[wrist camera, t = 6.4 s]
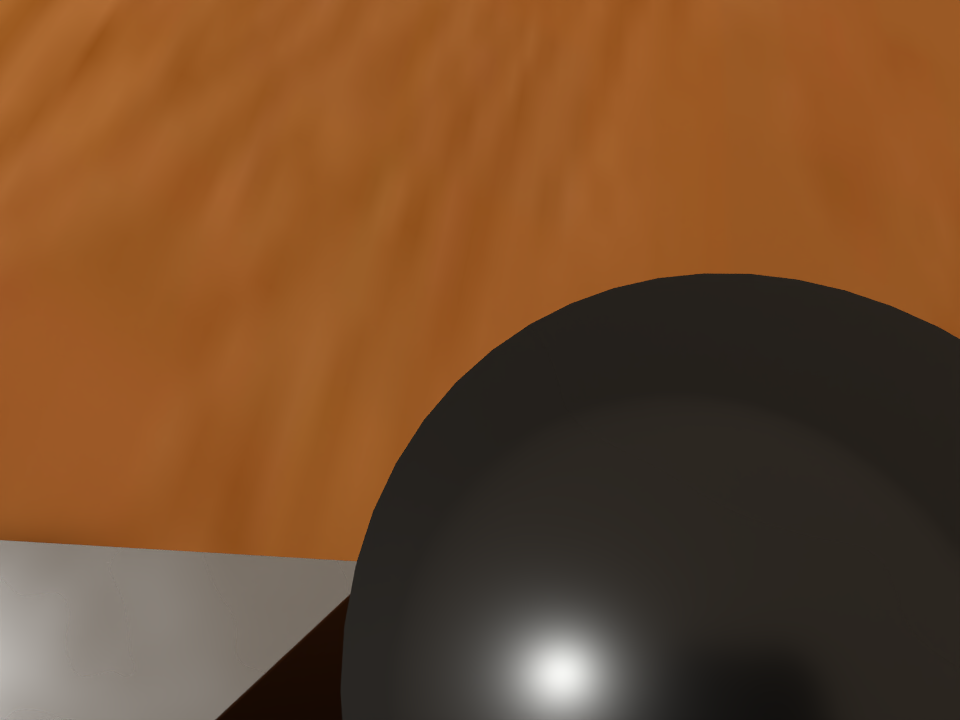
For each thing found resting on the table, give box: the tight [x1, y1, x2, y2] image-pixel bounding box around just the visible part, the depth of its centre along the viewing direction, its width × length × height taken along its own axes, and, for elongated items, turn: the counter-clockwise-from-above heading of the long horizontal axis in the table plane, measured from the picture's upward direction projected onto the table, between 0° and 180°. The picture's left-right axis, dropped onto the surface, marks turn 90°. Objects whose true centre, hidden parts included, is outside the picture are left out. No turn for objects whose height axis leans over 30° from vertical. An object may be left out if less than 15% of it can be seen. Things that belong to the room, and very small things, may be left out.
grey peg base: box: [0, 274, 960, 720], centre depth 8 cm, size 25×4×12 cm, turn 87°
